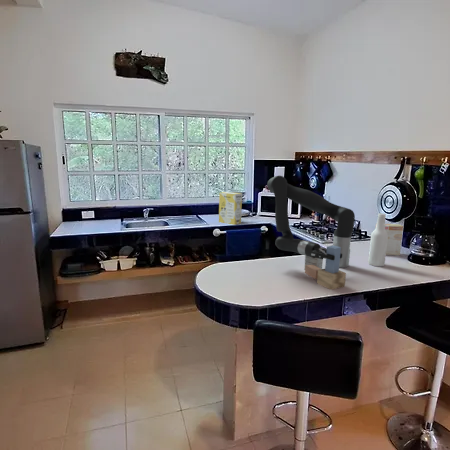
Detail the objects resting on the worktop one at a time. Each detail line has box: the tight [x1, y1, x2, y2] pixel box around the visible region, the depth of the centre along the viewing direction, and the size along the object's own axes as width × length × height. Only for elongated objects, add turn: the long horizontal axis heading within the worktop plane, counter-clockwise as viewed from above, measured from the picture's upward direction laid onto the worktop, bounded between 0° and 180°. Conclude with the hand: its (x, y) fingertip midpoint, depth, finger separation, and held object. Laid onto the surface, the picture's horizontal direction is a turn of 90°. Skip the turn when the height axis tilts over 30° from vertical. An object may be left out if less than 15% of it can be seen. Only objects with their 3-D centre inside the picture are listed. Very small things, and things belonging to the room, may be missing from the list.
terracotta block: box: [304, 264, 320, 280], centre depth 172 cm, size 10×4×4 cm, turn 18°
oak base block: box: [316, 268, 347, 291], centre depth 159 cm, size 9×9×7 cm
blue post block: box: [324, 244, 341, 273], centre depth 158 cm, size 4×4×12 cm
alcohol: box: [367, 212, 388, 268], centre depth 192 cm, size 9×9×30 cm
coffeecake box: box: [374, 223, 404, 257], centre depth 217 cm, size 15×7×20 cm, turn 84°
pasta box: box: [218, 191, 243, 226], centre depth 310 cm, size 18×10×28 cm, turn 53°
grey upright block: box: [303, 246, 324, 271], centre depth 180 cm, size 7×7×13 cm
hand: (338, 257), depth 155 cm, fingers open, 5 cm apart
